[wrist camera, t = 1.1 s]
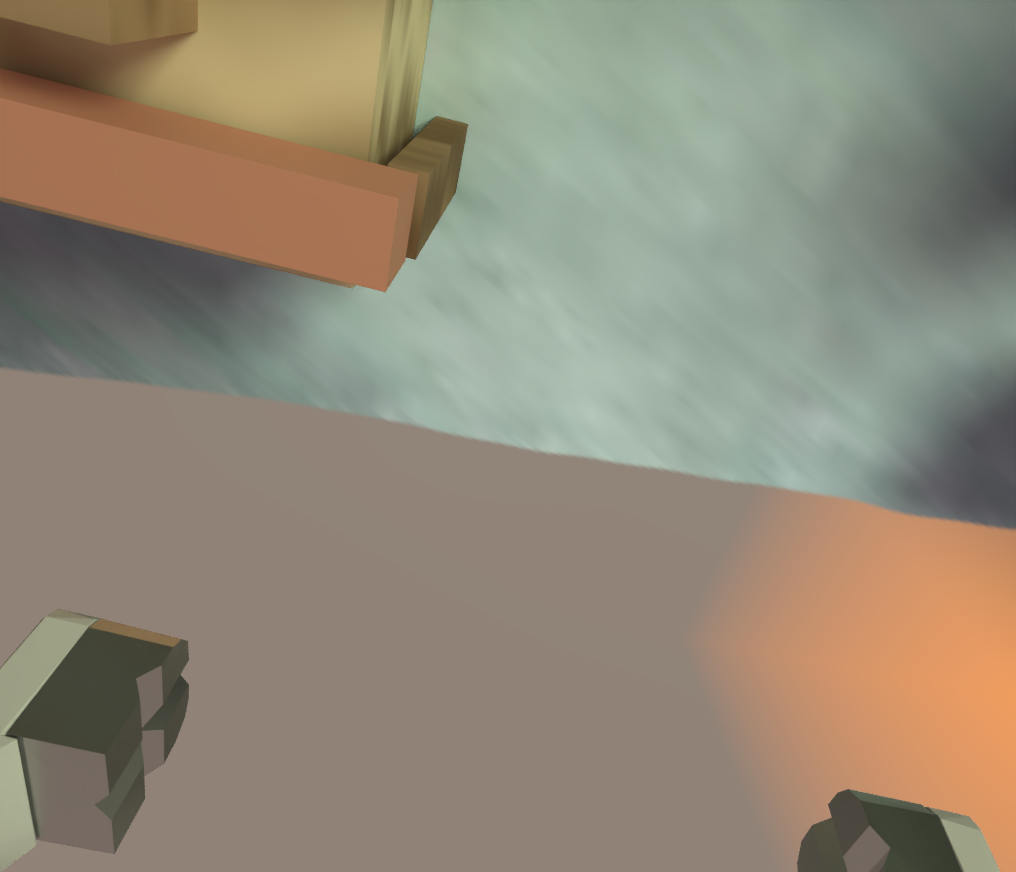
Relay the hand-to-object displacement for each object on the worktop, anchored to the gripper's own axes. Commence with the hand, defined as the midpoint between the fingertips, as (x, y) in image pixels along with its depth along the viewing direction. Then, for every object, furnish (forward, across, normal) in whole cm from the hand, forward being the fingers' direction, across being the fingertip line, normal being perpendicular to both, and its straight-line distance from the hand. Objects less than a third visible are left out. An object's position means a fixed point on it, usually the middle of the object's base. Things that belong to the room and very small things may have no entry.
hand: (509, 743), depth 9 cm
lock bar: (+19, +14, 0) cm, 24 cm away
